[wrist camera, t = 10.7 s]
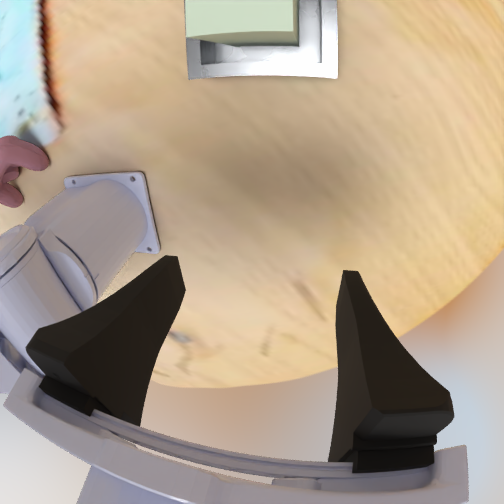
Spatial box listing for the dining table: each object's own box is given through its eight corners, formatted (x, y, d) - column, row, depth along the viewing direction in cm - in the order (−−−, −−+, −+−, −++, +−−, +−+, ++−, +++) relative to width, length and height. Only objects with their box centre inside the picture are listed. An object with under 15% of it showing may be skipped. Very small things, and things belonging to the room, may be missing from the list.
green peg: (234, 46, 15) (185, 37, 9) (233, -7, 13) (185, -45, 6) (299, 46, 14) (292, 31, 8) (298, -9, 12) (290, -55, 6)
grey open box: (207, 76, 17) (188, 79, 14) (203, -27, 12) (183, -40, 9) (332, 76, 16) (337, 78, 13) (329, -32, 11) (333, -50, 8)
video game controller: (47, 128, 22) (-10, 127, 16) (53, 165, 22) (-9, 168, 16) (17, 176, 26) (-29, 180, 20) (22, 208, 27) (-26, 216, 20)
